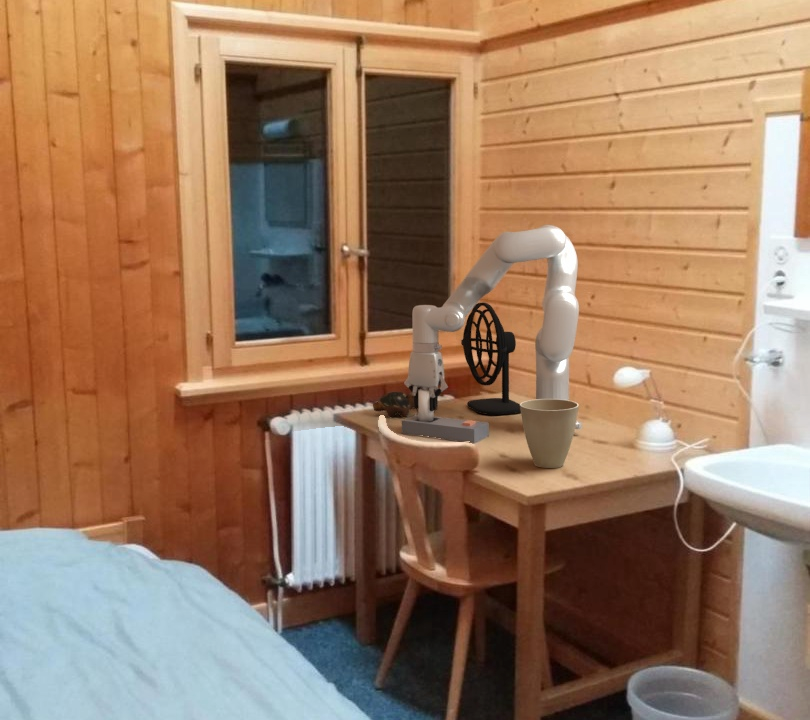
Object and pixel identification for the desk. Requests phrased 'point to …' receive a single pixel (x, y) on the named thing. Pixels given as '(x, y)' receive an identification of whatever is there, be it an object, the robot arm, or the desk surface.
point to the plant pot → (549, 429)
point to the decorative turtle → (395, 403)
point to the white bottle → (424, 405)
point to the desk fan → (490, 361)
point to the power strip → (446, 428)
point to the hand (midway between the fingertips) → (425, 408)
